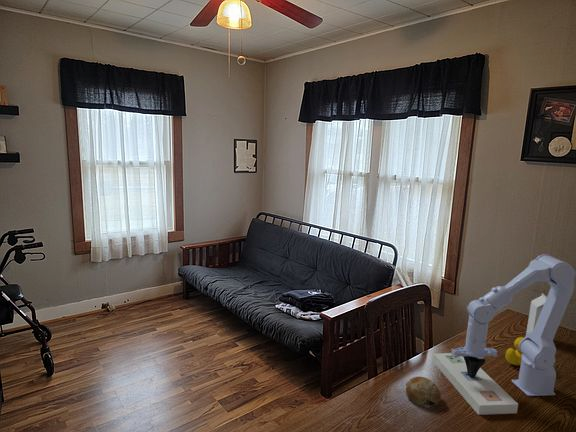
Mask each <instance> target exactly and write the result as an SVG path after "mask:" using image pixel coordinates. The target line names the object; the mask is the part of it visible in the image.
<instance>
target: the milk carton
mask: <svg viewBox="0 0 576 432" xmlns="http://www.w3.org/2000/svg"><path fill="white" fill-rule="evenodd" d="M546 298H547V296H546V295H545V294H544V293H543V292H542V293H541V295H540V296H539V297H538V296H537V297H536V298H535V299H532V300H531V301H530V308H529V314H528V320H527V325H526V326H527V327H526V333H525V335H526V334H527V333H529V332H532V331H533V330H534V328H535V325H536V323H537V320H538V318H539V316H540V313H541V311H542V308H543V306H544V303H545V301H546Z"/></svg>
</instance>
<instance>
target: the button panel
mask: <svg viewBox="0 0 576 432" xmlns="http://www.w3.org/2000/svg"><path fill="white" fill-rule="evenodd" d="M432 354H433V355H432V362H433V363H434V365H435V366H436V367H437V368H438V369H439V370H440V371H441V373H442V374H443V375H444V376H445V378H446V379H447V380H448V381H449V382H450V383H451V384H452V386H453V387H454V388H455V389H456V390H457V392H458V394H459V395H461V397H463V399H464V400H465V401H466V402H467V403H468V404H469V406H470V407H471V408H472V409H473V411H475V413H476V414H477V415H479V416H480V415H483V416H484V415H506V414H507V415H508V414H517V413H518V408H519V403H518V402H517V401H516V400H515V399H514V398H513V397H512V396H511V395H509V394H508V393H507V392H506V390H504V389H503V388H502V386H500V385H499V384H498V383H497V382H496V381H495V380H494V379H492V377H490V376H489V375H488V373H486V372H485V370H483V369H482V367H480V369H479V370H478V372H477V374H476V376H477V377H478V378H479V379H480V380H477V381H468V380H467V379H466V377H465V376H464V375H463V374H462V373H467V367H466V363H465V360H464V357H463V356H457V357H458V358H459V359H460V360H461V361H462V362H463V363H451V361H450V360H449V359H448V358H447V357H453V356H452V355H451V352H447V353H445V352H444V353H439V352H437V353H432ZM480 392H493V393H494V394H495V395H496V396H497V397H498V398H499V399H500V400H501V401H487V400H486V399H485V398H484V397H483V396H482V395H481V393H480Z"/></svg>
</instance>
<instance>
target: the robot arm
mask: <svg viewBox="0 0 576 432" xmlns="http://www.w3.org/2000/svg"><path fill="white" fill-rule="evenodd" d="M575 277H576V270H575V269H574V268H573V267H572V265H571V264H570V263H568V262H566V261H562V260H560V259H558V258H556V257H554V256H551V254H548V253H547V254H546V253H544V254H543V253H542V254H539V255H538V256H537V257H536V258H535V259H532V260H530V262H529V264H528V266H527V267H526V268H525V269H524V270H522V271H521V272H520V273H519V274H518V275H516V276H515V277H514V278H513V279H511V280H510V281H509V282H508V283H507V284H505V285H503V286H501V285H498V286H496V287H495V286H493V287H492V288H491V289H490V291H489V292H488V293H486V294H485V295H483V296H482V297H479V298H478V299H474V300H471V301H470V302H469V303H468V305H467V306H466V308H465V309H466V312H467V313H468V322H467V327H466V328H467V330H466V336H465V337H466V338H465V345H464V346H461V347H458V348H451V352H450V353H451V355H452V356H453V357H454V358H457V356H463V357H464V360H465V363H466V367H467V374H468V375H469V376H470V378H475V376H476V374H477V372H478V370H479V369H480V368H482V366H483V365H484V364H486V359H485V357H490V356H491V357H493V358H496V357H498V350H496V349H495V348H493V347H486V345H487V337H488V329H489V323H490V322H492V321H493V319H494V317H495V315H496V314H497V312H498V311H500V310H501V309H503V308H504V307H505V306H507V305H509V304H510V303H511V302H512V301H513V298H514V295H515V294H517V293H519V292H520V291H522V290H524V289H526V288H528V287H529V286H531V285H532V284H534V283H536V282H542V283H548V285H549V286H550V289H549V291H548V294H547V296H546V297H547V298H546V301H545V303H544V306H543V308H542V311H541V313H540V316H539V318H538V320H537V323H536V325H535V328H534V330H533V331H532V332H529V333H527V334H526V333H525V336H524V339H523V340H521V342H520V343H519V350H520V352H521V353H522V356H521V357H522V360H521V365H519V366H520V368H519V373H518V379H511V382H512V383H513V384H514V385H515V386H516V387H518V389H520V390H521V391H522V392H523V393H524V394H525V395H526V396H527V397H539V396H540V397H541V396H555V395H556V393H555V392H554V390H555V384H556V378H557V372H556V369H555V367H554V365H555V363H556V357H555V356H556V353H557V348H556V345H555V343H554V338H555V336H556V333H557V331H558V329H559V326H560V324H561V321H562V319H563V317H564V315H565V312H566V311H567V307H568V305H569V303H570V300H571V297H572V295H573V292H575V291H574V290H575V282H574V281H575V280H574V279H575Z"/></svg>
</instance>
